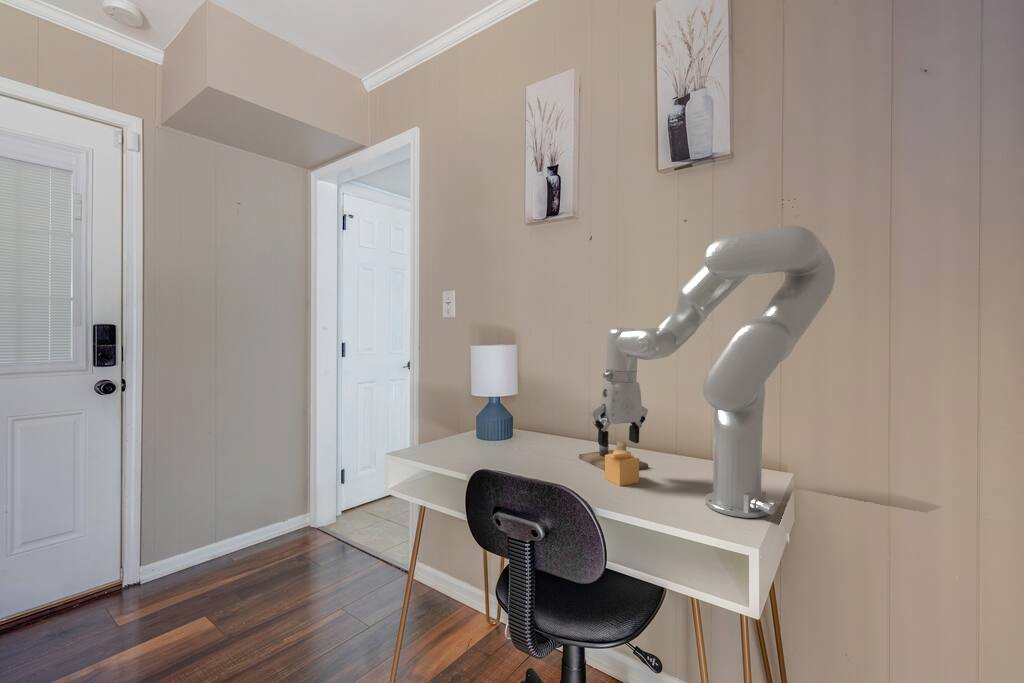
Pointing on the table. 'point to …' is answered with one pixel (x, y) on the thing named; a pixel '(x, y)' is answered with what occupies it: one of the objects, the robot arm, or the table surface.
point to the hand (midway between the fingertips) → (618, 443)
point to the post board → (599, 457)
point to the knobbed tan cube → (621, 468)
